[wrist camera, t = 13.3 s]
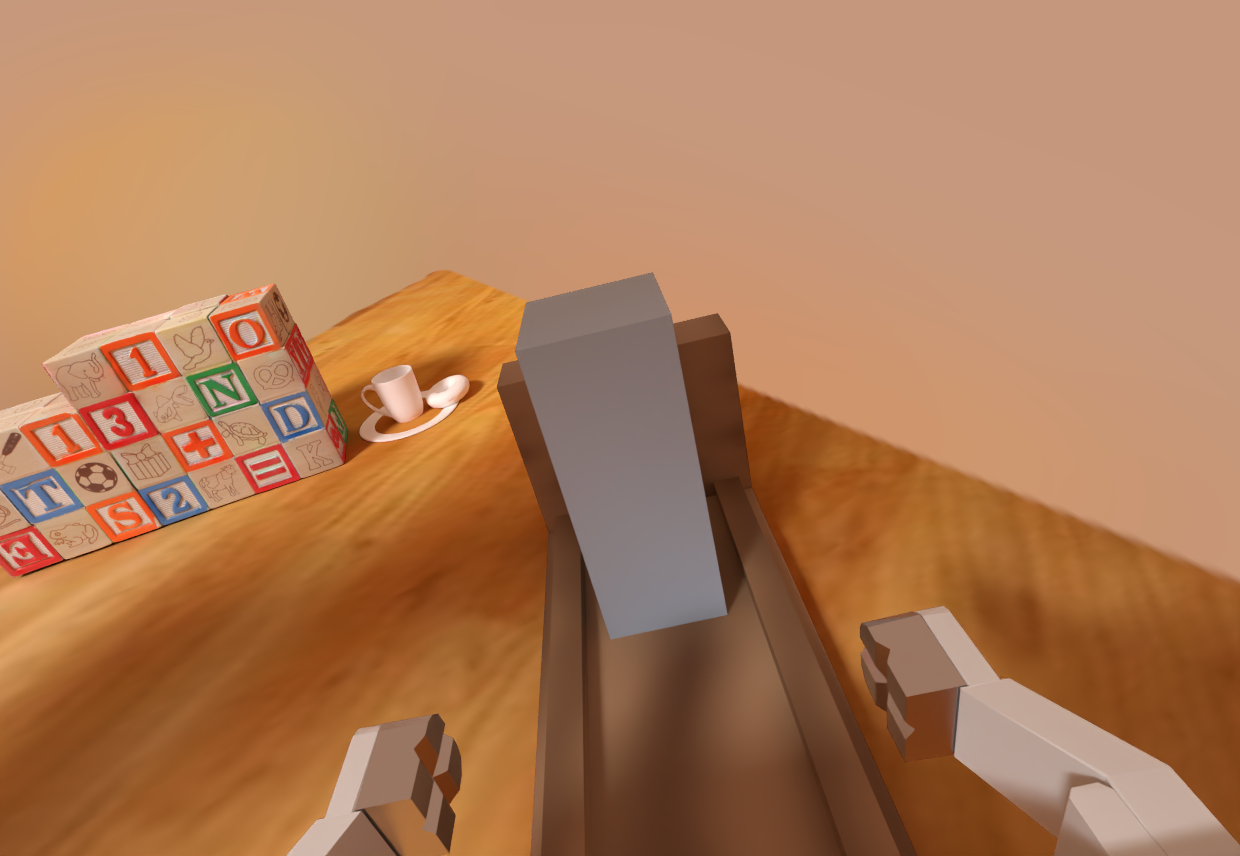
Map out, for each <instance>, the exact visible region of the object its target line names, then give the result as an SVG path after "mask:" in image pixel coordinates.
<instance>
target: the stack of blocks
mask: <svg viewBox="0 0 1240 856" xmlns="http://www.w3.org/2000/svg"><path fill="white" fill-rule="evenodd" d="M42 365H43V367H44V368H45V370H46V371H47V373H48V374H49V375H50V377H51V378H52V380H53V381H54V382H55V383H56V385H57V386H58V388H59V389H60V390H61V392H60V393H57V394H53V395H50V396H47V397H43V398H40V399H37V400H33V401H30V402H27V403H24V404H20V405H17V406H14V407H13V408H8V409H4V410H1V411H0V565H1V566H2V567H3V568H4V569H5V570H6V571H7V573H8V574H10V575H11V576H12V577H16V576H20V575H22V574H25V573H28V572H31V571H34V570H36V569H39V568H42V567H45V566H48V565H50V564H53V563H56V562H59V561H62V560H63V559H70V558H73V557H76V556H79V555H82V554H84V553H87V552H91V551H94V550H96V549H99V548H102V547H105V546H107V545H110V544H112V543H113V542H119V541H122V540H125V539H128V538H131V537H134V536H137V535H140V534H143V533H145V532H148V531H151V530H154V529H157V528H160V527H161V526H163V525H167V524H170V523H173V522H176V521H179V520H182V519H184V518H187V517H190V516H193V515H196V514H199V513H202V512H205V511H208V510H210V509H212V508H216V507H219V506H222V505H225V504H228V503H231V502H234V501H237V500H240V499H242V498H245V497H248V496H251V495H253V494H255V493H260V492H264V491H267V490H270V489H273V488H276V487H279V486H282V485H285V484H288V483H291V482H294V481H297V480H299V479H300V478H305V477H308V476H311V475H314V474H317V473H320V472H323V471H326V470H329V469H332V468H335V467H338V466H340V465H343V464H344V461H345V454H346V442H347V435H348V428H347V426H346V424H345V422H344V420H343V418H342V416H341V414H340V412H339V410H338V408H337V406H336V404H335V402H334V400H333V398H332V397H331V395H330V393H329V391H328V389H327V387H326V384H325V382H324V380H323V378H322V376H321V374H320V372H319V370H318V368H317V366H316V364H315V362H314V360H313V357H312V355H311V353H310V350H309V348H308V347H307V345H306V343H305V341H304V338H303V337H302V335H301V333H300V330H299V328H298V326H297V324H296V323H295V322H294V321H293V319H292V316H291V315H290V312H289V310H288V308H287V306H286V304H285V302H284V300H283V298H282V296H281V294H280V292H279V290H278V288H277V286H276V284H270V285H267V286H263V287H260V288H256V289H253V290H249V291H245V292H241V293H238V294H234V295H231V296H227V295H226V294H224V295H220V296H217V297H213V298H210V299H206V300H203V301H199V302H195V303H192V304H188V305H185V306H182V307H180V308H179V309H177V310H173V311H169V312H166V313H163V314H159V315H156V316H152V317H149V318H146V319H142V320H139V321H136V322H134V323H132V324H131V323H129V324H125V325H122V326H118V327H114V328H111V329H107V330H104V331H100V332H97V333H93V334H90V335H86V336H83V337H81V338H80V339H78V340H77V341H76V342H74V343H73V344H71V345H70V346H68V347H67V348H65V349H64V350H62V351H61V352H60V353H59V354H57V355H55V356H53V357H52V358H50V359H49V360H47V361H46V362H44V363H43V364H42Z"/></svg>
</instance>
